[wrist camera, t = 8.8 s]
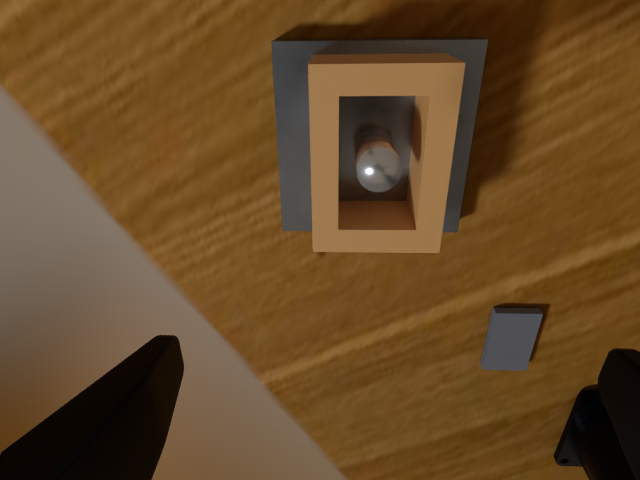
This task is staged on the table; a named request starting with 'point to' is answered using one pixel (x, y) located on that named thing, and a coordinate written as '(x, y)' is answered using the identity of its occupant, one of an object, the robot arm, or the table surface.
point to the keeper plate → (366, 126)
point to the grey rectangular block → (510, 338)
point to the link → (425, 160)
